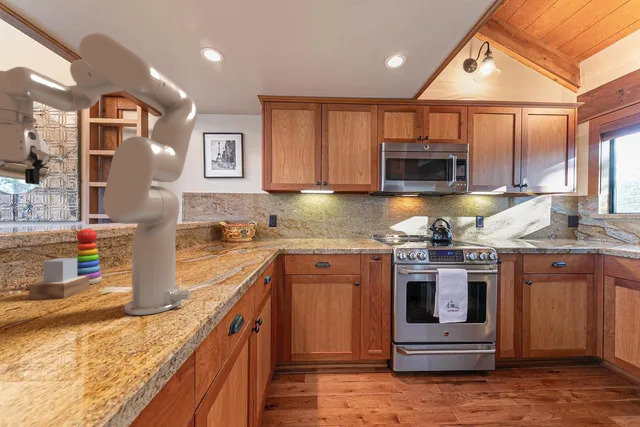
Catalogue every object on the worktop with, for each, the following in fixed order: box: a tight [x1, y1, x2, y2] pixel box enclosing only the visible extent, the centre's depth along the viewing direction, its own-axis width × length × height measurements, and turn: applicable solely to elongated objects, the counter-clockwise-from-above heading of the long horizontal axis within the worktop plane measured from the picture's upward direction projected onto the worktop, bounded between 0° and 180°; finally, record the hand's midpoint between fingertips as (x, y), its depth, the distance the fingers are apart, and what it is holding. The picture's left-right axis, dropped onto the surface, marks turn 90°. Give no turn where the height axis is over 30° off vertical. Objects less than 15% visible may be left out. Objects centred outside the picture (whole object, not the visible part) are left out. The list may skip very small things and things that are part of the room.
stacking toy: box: [74, 228, 103, 286], centre depth 87 cm, size 8×8×19 cm
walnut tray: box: [28, 276, 90, 300], centre depth 76 cm, size 9×9×4 cm
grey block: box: [43, 257, 77, 282], centre depth 76 cm, size 5×5×6 cm
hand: (12, 183), depth 69 cm, fingers open, 9 cm apart
